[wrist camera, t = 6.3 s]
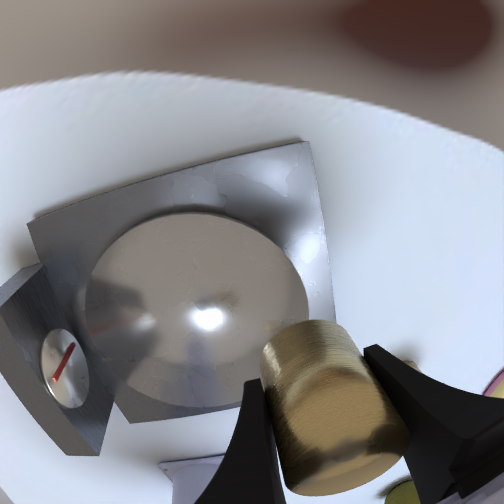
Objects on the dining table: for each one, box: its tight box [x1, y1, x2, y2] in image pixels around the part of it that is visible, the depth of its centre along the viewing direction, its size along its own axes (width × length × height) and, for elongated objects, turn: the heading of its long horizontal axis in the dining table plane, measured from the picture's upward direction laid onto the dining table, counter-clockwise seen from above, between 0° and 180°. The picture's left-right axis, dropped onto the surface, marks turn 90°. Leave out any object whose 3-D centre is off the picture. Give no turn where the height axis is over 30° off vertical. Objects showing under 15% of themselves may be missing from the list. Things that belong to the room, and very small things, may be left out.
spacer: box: [259, 319, 411, 496], centre depth 11 cm, size 4×4×6 cm
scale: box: [0, 141, 336, 456], centre depth 18 cm, size 18×21×7 cm
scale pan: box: [85, 211, 309, 407], centre depth 19 cm, size 14×14×1 cm
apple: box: [384, 481, 421, 504], centre depth 34 cm, size 8×8×7 cm
